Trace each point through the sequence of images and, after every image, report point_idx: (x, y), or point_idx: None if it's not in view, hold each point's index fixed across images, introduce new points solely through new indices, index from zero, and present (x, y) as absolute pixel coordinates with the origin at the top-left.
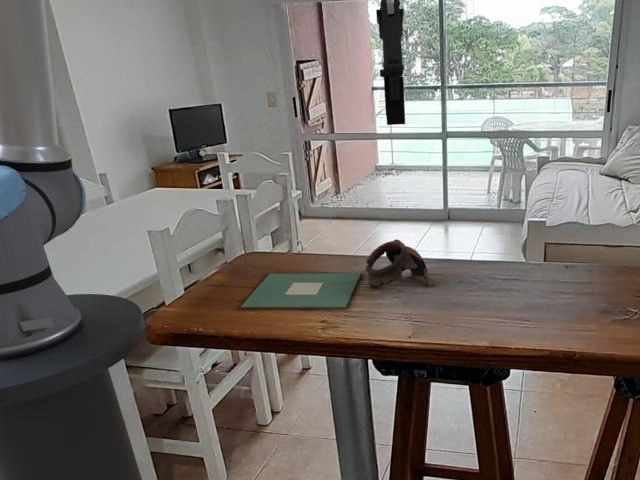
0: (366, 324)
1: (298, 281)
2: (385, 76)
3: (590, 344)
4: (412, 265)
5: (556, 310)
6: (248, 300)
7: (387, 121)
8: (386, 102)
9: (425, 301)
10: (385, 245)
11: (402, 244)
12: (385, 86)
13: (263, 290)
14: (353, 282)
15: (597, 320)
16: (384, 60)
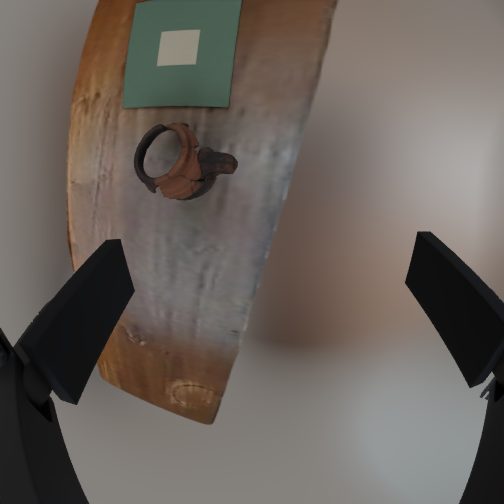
0: (90, 139)
1: (206, 33)
2: (5, 345)
3: None
4: (148, 188)
5: (133, 300)
6: (152, 2)
7: (102, 246)
8: (71, 280)
9: (140, 192)
10: (181, 152)
11: (161, 180)
12: (38, 318)
13: (180, 5)
14: (194, 101)
15: (121, 319)
16: (12, 418)
